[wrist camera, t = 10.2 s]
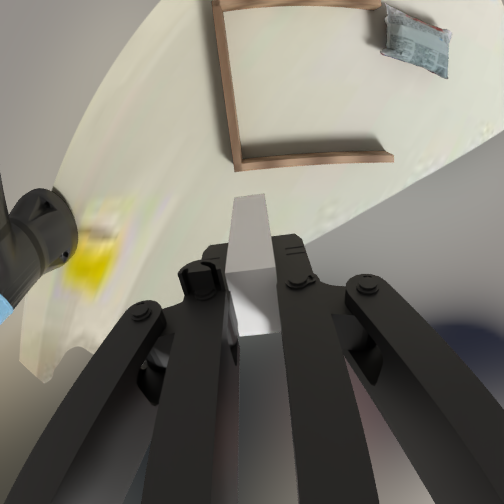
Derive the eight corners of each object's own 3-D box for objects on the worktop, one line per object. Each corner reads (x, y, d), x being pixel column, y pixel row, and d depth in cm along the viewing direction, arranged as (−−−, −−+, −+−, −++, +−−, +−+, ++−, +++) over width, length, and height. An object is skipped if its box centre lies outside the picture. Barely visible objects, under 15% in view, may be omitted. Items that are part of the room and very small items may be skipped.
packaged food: (378, 6, 26) (391, -2, 22) (445, 33, 26) (463, 31, 22) (374, 56, 31) (387, 53, 26) (441, 81, 31) (459, 82, 27)
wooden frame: (236, 166, 40) (234, 172, 37) (214, 7, 28) (211, 0, 25) (385, 157, 38) (393, 162, 36) (372, 4, 26) (380, -1, 24)
